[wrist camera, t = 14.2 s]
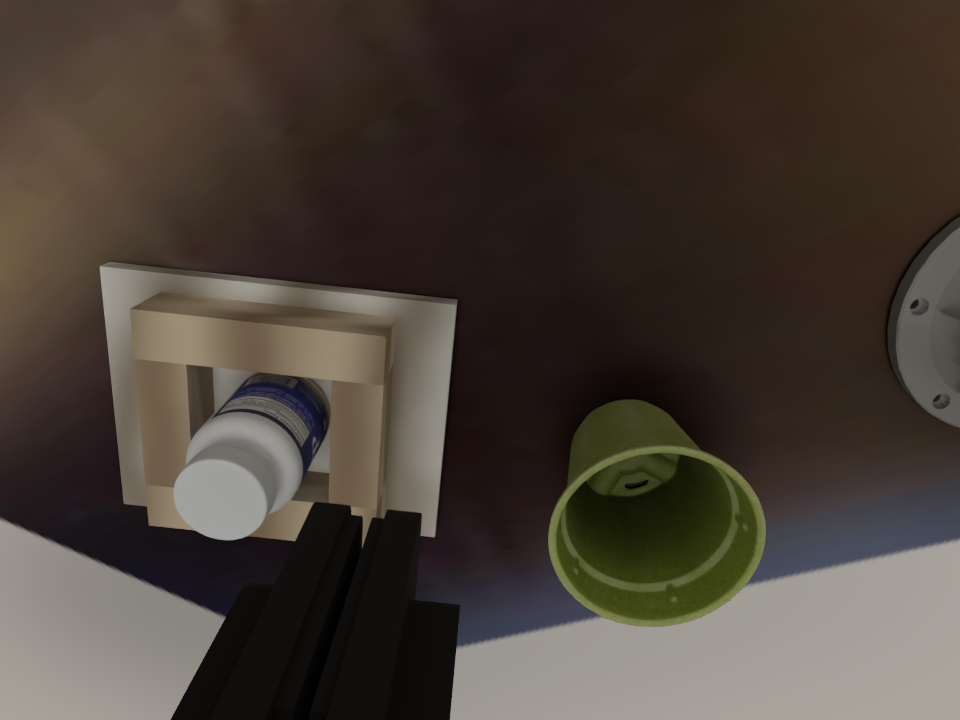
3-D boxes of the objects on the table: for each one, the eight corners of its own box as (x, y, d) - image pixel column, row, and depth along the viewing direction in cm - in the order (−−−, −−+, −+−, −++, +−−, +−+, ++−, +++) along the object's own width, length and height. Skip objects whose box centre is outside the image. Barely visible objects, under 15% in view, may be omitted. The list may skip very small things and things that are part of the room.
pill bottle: (296, 471, 38) (237, 575, 30) (216, 416, 37) (132, 508, 28) (351, 405, 36) (306, 496, 28) (270, 346, 35) (197, 421, 27)
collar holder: (457, 299, 35) (451, 323, 31) (436, 527, 40) (429, 571, 36) (110, 261, 35) (62, 281, 31) (132, 494, 40) (94, 535, 36)
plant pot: (567, 536, 40) (583, 648, 32) (517, 398, 37) (521, 482, 29) (725, 494, 39) (784, 599, 30) (687, 347, 35) (741, 420, 27)
